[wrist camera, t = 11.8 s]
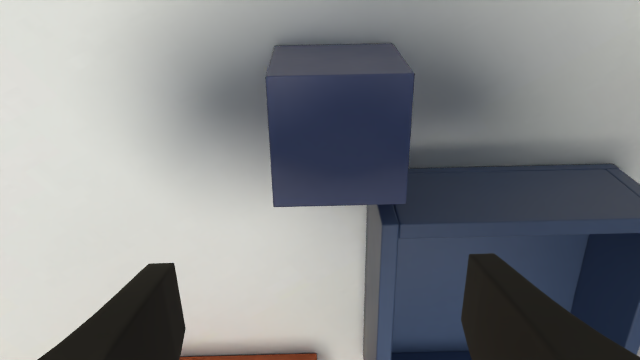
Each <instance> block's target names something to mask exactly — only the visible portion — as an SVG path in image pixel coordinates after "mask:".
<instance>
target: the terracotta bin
mask: <svg viewBox="0 0 640 360" xmlns="http://www.w3.org/2000/svg"><path fill="white" fill-rule="evenodd" d="M180 360H317V354H278V355H240V356H203V357H180Z"/></svg>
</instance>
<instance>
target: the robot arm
mask: <svg viewBox="0 0 640 360" xmlns="http://www.w3.org/2000/svg"><path fill="white" fill-rule="evenodd" d="M461 322H462V326H463V330H464V334H465V338H466V342H467V345H468V349H469V352H470V356H471V359H472V360H640V347H639V350H638V353H637V355H636V354H634V353H632V352H631V351H629V350H627V349H625V348H624V347H622V346H620V345H619V344H617V343H615V342H614V341H612V340H610V339H609V338H607V337H605V336H604V335H602V334H601V333H599V332H598V331H596V330H595V329H593V328H592V327H590V326H589V325H587V324H586V323H584V322H583V321H581V320H580V319H579V318H577V317H576V316H574V315H573V314H571V313H570V312H569V311H567V310H566V309H564V308H563V307H562V306H560V305H559V304H558V303H556V302H555V301H554V300H552V299H551V298H550V297H548V296H547V295H546V294H545V293H543V292H542V291H541V290H539V289H538V288H537V287H536V286H534V285H533V284H532V283H531V282H529V281H528V280H527V279H526V278H524V277H523V276H522V275H521V274H520V273H518V272H517V271H516V270H515V269H513V268H512V267H511V266H510V265H508V264H507V263H506V262H505V261H503V260H502V259H501V258H500V257H498V256H497V255H496V254H494V253H488V254H469V258H468V266H467V275H466V283H465V291H464V299H463V307H462V315H461ZM184 333H185V323H184V318H183V312H182V306H181V300H180V295H179V289H178V283H177V277H176V272H175V266H174V263H158V264H148V265H147V266H146V267H145V268H144V269H143V270H141V271H140V272H139V273H138V274H137V275H136V276H135V277H134V278H133V279H132V280H131V281H130V282H129V283H128V284H127V285H126V286H125V287H123V288H122V289H121V290H120V291H119V292H118V293H117V294H116V295H115V296H114V297H113V298H112V299H111V300H109V301H108V302H107V303H106V304H105V305H104V306H103V307H102V308H101V309H100V310H98V311H97V312H96V313H95V314H94V315H93V316H92V317H91V318H89V319H88V320H87V321H86V322H85V323H83V324H82V325H81V326H80V327H79V328H77V329H76V330H75V331H74V332H73V333H71V334H70V335H69V336H68V337H67V338H65V339H64V340H63V341H62V342H60V343H59V344H58V345H57V346H55V347H54V348H53V349H51V350H50V351H49V352H47V353H46V354H45V355H43V356H42V357H41V358H39V359H38V360H180V355H181V350H182V344H183V339H184Z"/></svg>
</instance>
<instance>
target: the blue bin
mask: <svg viewBox="0 0 640 360" xmlns="http://www.w3.org/2000/svg"><path fill="white" fill-rule="evenodd" d="M488 253H494V254H496V255H497V256H498V257H500V258H501V259H502V260H503V261H505V262H506V263H507V264H508V265H510V266H511V267H512V268H513V269H515V270H516V271H517V272H518V273H520V274H521V275H522V276H523V277H524V278H526V279H527V280H528V281H529V282H531V283H532V284H533V285H534V286H536V287H537V288H538V289H539V290H541V291H542V292H543V293H545V294H546V295H547V296H548V297H550V298H551V299H552V300H554V301H555V302H556V303H558V304H559V305H560V306H562V307H563V308H564V309H566V310H567V311H569V312H570V313H571V314H573V315H574V316H576V317H577V318H579V319H580V320H581V321H583V322H584V323H586V324H587V325H589V326H590V327H592V328H593V329H595V330H596V331H598V332H599V333H601V334H602V335H604V336H605V337H607V338H609V339H610V340H612V341H614V342H615V343H617V344H619V345H620V346H622V347H624V348H625V349H627V350H629V351H631V352H632V353H634V354H636V355H637V353H638V350H639V347H640V185H639V184H638V183H637V182H636V181H634V180H633V179H632V178H631V177H629V176H628V175H627V174H625V173H624V172H623V171H622V170H620V169H619V168H618V167H617V166H615V165H614V164H585V165H540V166H496V167H451V168H408V183H407V198H406V204H384V205H367V229H366V265H365V301H364V337H363V359H364V360H472V359H471V356H470V352H469V349H468V345H467V342H466V338H465V334H464V330H463V326H462V322H461V315H462V307H463V299H464V291H465V283H466V275H467V266H468V258H469V254H488Z"/></svg>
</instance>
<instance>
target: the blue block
mask: <svg viewBox="0 0 640 360" xmlns="http://www.w3.org/2000/svg"><path fill="white" fill-rule="evenodd" d="M414 75H415V74H414V72H413V71H412V70H411V68H410V67H409V66H408V64H407V63H406V61H405V60H404V59H403V57H402V56H401V54H400V53H399V52H398V50H397V49H396V47H395V46H394V45H393V44H392V43H384V44H332V45H281V46H274V49H273V53H272V56H271V60H270V63H269V67H268V70H267V74H266V77H265V78H266V94H267V110H268V126H269V142H270V159H271V175H272V191H273V206H274V207H298V206H341V205H384V204H406V198H407V183H408V167H409V152H410V137H411V121H412V106H413V90H414Z"/></svg>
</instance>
